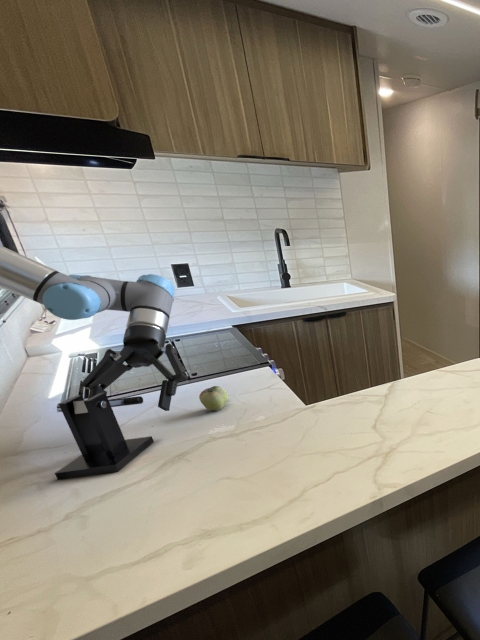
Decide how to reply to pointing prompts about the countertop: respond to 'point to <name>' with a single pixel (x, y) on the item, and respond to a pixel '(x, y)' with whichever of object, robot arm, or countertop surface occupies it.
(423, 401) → the countertop surface
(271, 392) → the countertop surface
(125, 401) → the lever
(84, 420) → the black lever stand
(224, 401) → the apple
